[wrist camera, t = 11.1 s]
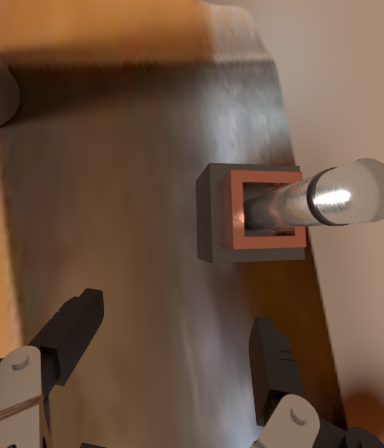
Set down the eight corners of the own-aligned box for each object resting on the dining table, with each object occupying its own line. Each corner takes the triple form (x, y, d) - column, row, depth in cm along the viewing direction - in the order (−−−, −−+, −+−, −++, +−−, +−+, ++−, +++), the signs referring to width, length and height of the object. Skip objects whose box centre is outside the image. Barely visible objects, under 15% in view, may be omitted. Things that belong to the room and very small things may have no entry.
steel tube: (241, 196, 27) (337, 155, 13) (273, 196, 28) (395, 157, 14) (242, 230, 27) (341, 224, 13) (274, 229, 27) (400, 223, 14)
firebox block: (195, 180, 35) (215, 154, 24) (267, 182, 36) (313, 159, 26) (197, 258, 34) (219, 265, 23) (270, 255, 36) (319, 260, 25)
